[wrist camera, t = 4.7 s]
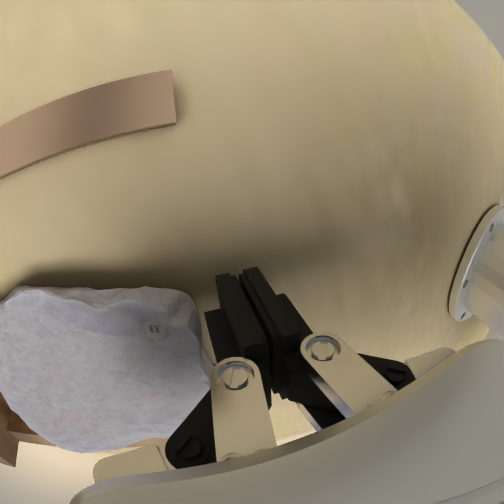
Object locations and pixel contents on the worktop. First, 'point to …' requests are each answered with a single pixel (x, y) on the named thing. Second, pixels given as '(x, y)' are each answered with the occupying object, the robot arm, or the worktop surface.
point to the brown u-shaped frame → (69, 138)
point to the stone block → (101, 363)
